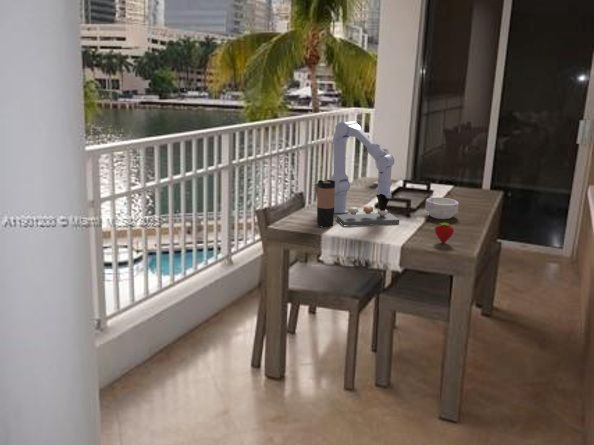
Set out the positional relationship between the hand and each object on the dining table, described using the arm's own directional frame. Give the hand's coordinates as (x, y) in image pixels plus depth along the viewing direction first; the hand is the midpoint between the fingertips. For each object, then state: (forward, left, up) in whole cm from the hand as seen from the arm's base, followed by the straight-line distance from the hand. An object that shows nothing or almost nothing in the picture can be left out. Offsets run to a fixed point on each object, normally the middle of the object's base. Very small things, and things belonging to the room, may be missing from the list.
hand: (382, 210), depth 268 cm
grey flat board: (-7, 0, -5) cm, 9 cm away
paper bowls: (+31, +3, -5) cm, 32 cm away
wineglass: (+29, +79, -5) cm, 84 cm away
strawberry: (+13, -36, -5) cm, 39 cm away
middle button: (-7, 0, -1) cm, 7 cm away
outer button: (0, 0, -3) cm, 3 cm away
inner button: (-14, 0, -1) cm, 14 cm away
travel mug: (-28, -3, -5) cm, 29 cm away
